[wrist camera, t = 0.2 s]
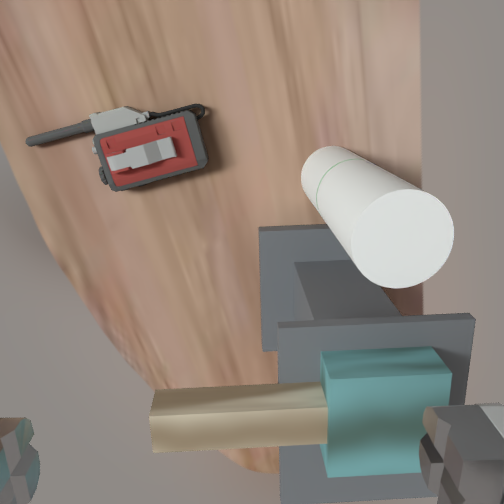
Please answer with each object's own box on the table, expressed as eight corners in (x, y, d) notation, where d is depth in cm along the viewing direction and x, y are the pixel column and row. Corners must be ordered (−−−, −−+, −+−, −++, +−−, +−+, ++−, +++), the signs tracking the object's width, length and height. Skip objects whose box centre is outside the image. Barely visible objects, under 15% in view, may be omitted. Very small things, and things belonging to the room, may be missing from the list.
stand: (258, 226, 58) (278, 328, 34) (373, 222, 59) (475, 319, 34) (261, 343, 64) (281, 505, 39) (367, 338, 64) (452, 495, 39)
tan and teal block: (152, 359, 34) (143, 388, 31) (431, 346, 35) (452, 373, 31) (162, 451, 37) (155, 487, 33) (422, 437, 37) (440, 471, 34)
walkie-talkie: (198, 84, 53) (27, 132, 54) (195, 84, 49) (10, 136, 50) (220, 162, 56) (57, 205, 57) (219, 168, 52) (43, 215, 53)
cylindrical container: (344, 215, 58) (422, 302, 35) (291, 193, 57) (333, 267, 34) (371, 160, 56) (473, 212, 33) (316, 136, 55) (381, 172, 31)
